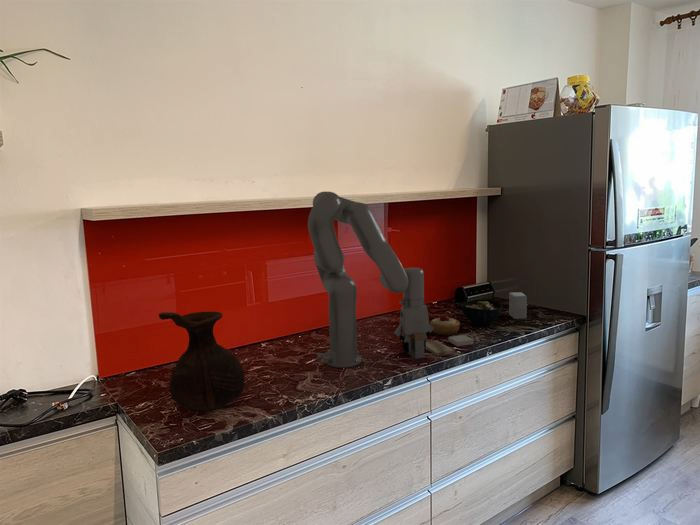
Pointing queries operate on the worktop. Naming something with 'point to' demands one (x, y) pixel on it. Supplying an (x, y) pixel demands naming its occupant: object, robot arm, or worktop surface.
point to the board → (438, 348)
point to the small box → (518, 305)
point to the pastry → (445, 325)
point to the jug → (204, 366)
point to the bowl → (481, 311)
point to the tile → (460, 340)
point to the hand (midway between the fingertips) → (414, 350)
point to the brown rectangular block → (416, 345)
